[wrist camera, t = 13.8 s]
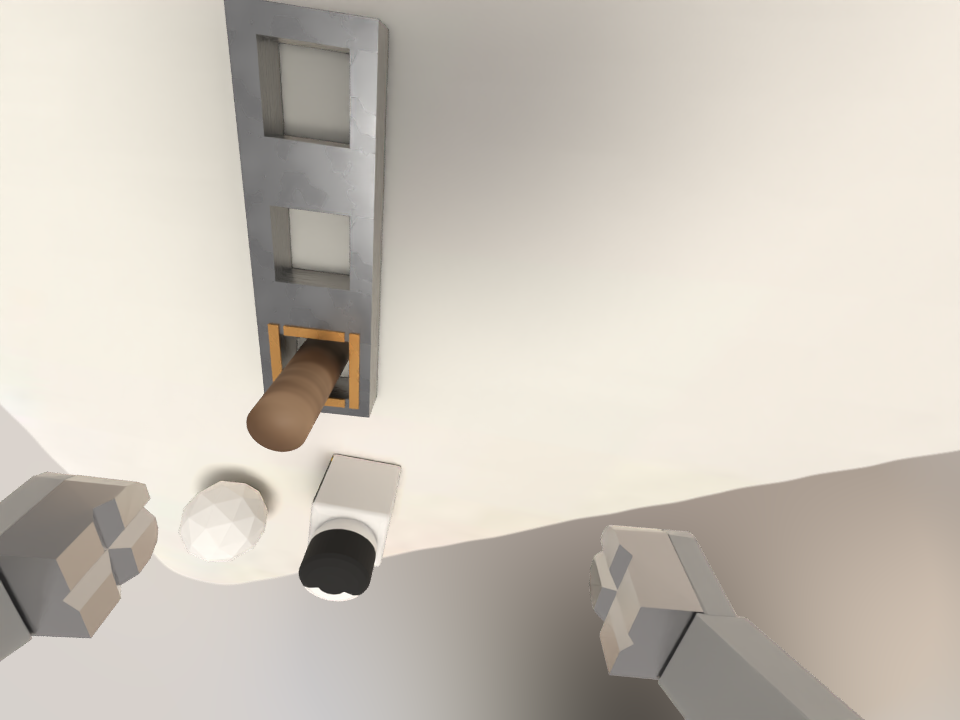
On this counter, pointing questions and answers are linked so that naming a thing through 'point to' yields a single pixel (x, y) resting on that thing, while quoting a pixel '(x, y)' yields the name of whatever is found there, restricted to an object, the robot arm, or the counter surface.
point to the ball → (223, 521)
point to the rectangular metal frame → (312, 190)
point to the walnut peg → (297, 395)
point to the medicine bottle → (348, 527)
